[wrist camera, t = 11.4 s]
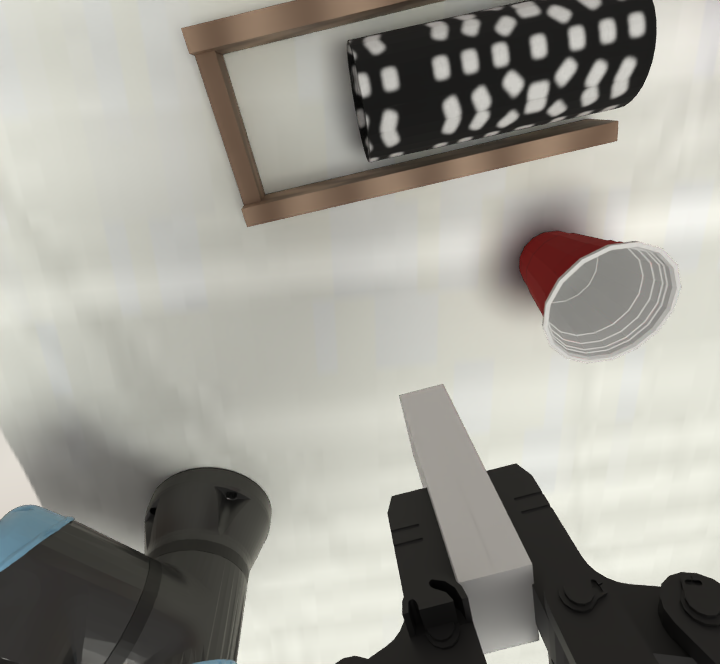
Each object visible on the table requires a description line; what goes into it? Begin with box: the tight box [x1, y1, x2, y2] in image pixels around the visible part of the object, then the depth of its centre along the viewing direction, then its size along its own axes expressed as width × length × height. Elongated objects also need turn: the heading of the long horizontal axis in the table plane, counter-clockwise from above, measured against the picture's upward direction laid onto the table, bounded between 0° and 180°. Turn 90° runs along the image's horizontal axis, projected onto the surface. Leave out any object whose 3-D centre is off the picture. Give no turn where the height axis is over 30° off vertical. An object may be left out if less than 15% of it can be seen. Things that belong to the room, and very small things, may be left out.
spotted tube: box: [347, 0, 656, 162], centre depth 34 cm, size 8×8×20 cm
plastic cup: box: [519, 231, 681, 363], centre depth 40 cm, size 11×11×12 cm
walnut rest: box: [181, 0, 618, 227], centre depth 35 cm, size 31×14×4 cm, turn 102°
